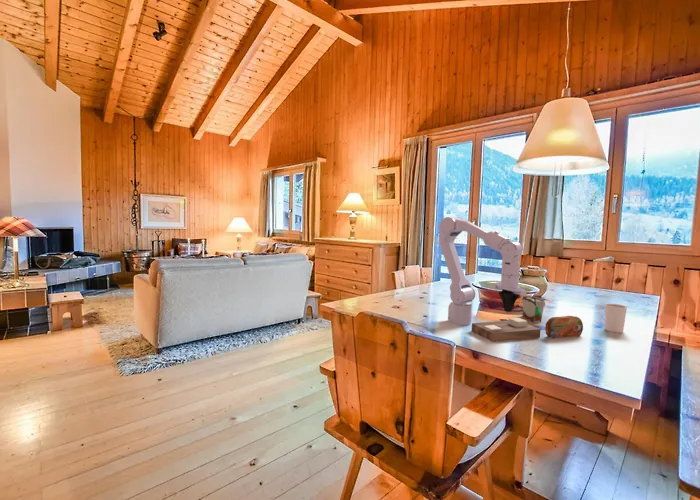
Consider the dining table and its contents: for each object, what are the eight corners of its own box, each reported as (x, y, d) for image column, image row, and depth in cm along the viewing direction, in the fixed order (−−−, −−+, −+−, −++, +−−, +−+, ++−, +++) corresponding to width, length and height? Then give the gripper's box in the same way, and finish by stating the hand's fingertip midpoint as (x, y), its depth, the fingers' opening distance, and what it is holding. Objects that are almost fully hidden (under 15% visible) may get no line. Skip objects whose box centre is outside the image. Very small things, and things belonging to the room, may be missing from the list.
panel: (471, 333, 131) (471, 323, 130) (515, 329, 136) (515, 319, 136) (492, 344, 119) (493, 333, 119) (539, 339, 125) (540, 329, 125)
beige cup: (628, 333, 134) (630, 308, 133) (608, 332, 135) (611, 307, 134) (618, 328, 140) (621, 304, 139) (600, 327, 142) (602, 303, 141)
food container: (550, 326, 142) (552, 302, 141) (535, 326, 142) (536, 301, 141) (535, 317, 154) (536, 295, 153) (521, 317, 154) (522, 295, 153)
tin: (549, 342, 123) (551, 318, 122) (542, 339, 126) (544, 316, 125) (583, 338, 127) (584, 316, 126) (575, 336, 130) (577, 314, 129)
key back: (508, 326, 131) (508, 318, 130) (518, 325, 132) (518, 317, 132) (517, 329, 126) (517, 321, 126) (526, 329, 128) (527, 321, 127)
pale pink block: (483, 333, 128) (483, 325, 127) (493, 332, 129) (493, 324, 129) (491, 337, 123) (491, 329, 123) (501, 336, 125) (502, 328, 124)
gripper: (534, 277, 120) (532, 316, 121) (505, 271, 134) (503, 305, 135) (517, 278, 118) (515, 317, 119) (489, 271, 132) (488, 306, 133)
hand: (508, 311), depth 127 cm, fingers closed
